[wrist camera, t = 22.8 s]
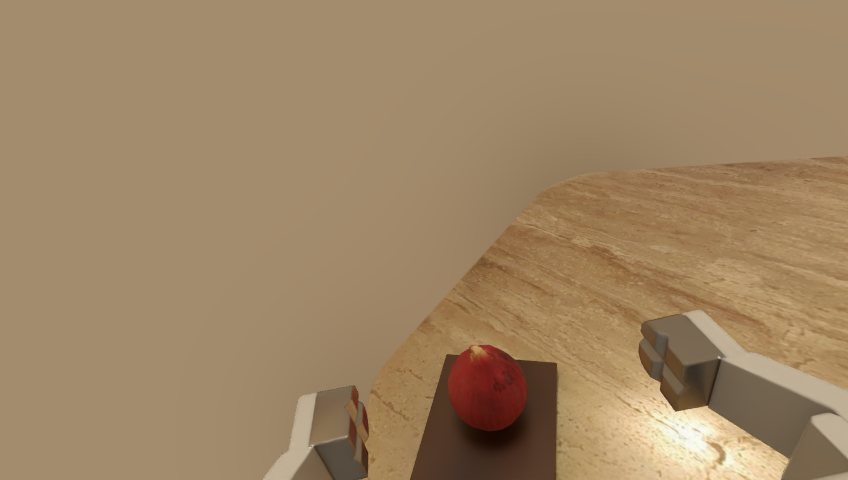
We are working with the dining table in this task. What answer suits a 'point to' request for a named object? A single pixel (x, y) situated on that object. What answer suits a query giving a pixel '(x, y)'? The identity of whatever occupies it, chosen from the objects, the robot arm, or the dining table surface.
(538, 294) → the dining table surface
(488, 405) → the onion
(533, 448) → the board
